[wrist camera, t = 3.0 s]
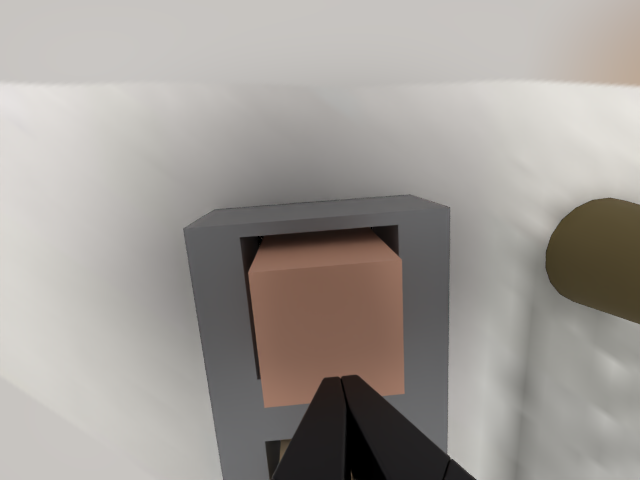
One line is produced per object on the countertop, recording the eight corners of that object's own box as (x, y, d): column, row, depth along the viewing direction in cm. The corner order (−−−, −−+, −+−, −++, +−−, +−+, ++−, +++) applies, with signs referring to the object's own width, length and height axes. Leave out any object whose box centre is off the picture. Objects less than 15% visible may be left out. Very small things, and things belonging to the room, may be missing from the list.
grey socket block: (413, 455, 22) (446, 539, 17) (250, 472, 22) (236, 563, 17) (410, 194, 18) (450, 207, 14) (214, 209, 18) (183, 228, 13)
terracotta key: (371, 320, 18) (404, 393, 12) (275, 329, 18) (264, 407, 12) (367, 226, 17) (402, 259, 11) (265, 234, 17) (248, 272, 11)
